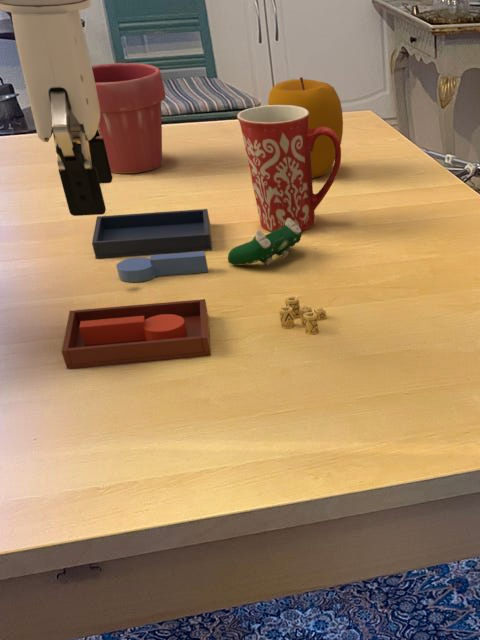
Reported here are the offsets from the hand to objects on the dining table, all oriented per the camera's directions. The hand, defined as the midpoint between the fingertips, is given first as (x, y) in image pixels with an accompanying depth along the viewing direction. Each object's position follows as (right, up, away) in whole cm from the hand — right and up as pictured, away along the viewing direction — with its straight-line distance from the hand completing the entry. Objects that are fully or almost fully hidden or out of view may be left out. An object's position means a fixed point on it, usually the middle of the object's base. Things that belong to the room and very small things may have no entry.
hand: (92, 197), depth 92 cm
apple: (+12, +28, +52) cm, 61 cm away
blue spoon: (-1, +1, +22) cm, 22 cm away
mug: (+14, +13, +35) cm, 40 cm away
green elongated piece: (+12, +4, +26) cm, 28 cm away
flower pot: (-16, +31, +55) cm, 65 cm away
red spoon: (+2, -11, +7) cm, 14 cm away
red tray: (+2, -12, +8) cm, 14 cm away
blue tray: (-4, +9, +30) cm, 32 cm away
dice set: (+18, -9, +12) cm, 23 cm away
